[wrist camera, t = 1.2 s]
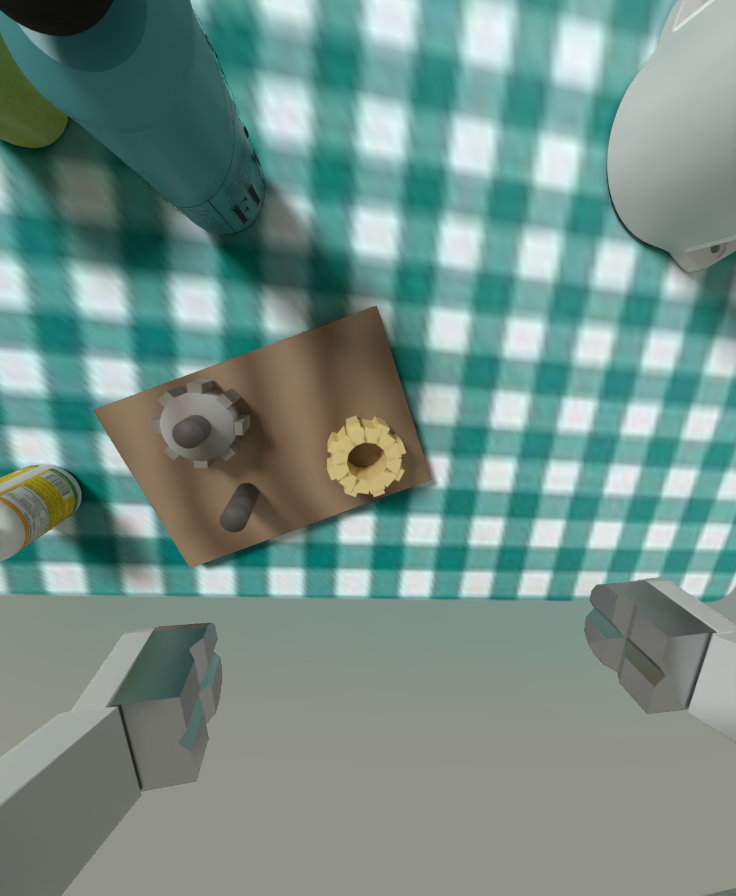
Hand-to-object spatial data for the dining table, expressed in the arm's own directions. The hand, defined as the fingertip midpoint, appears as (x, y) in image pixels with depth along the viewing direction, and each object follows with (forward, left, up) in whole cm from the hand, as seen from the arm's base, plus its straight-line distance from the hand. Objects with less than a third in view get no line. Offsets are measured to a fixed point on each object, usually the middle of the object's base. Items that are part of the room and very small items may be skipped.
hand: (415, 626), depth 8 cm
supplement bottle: (+27, -2, -26) cm, 38 cm away
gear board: (+7, +1, -26) cm, 27 cm away
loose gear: (0, +4, -24) cm, 25 cm away
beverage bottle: (+3, -18, -26) cm, 32 cm away
